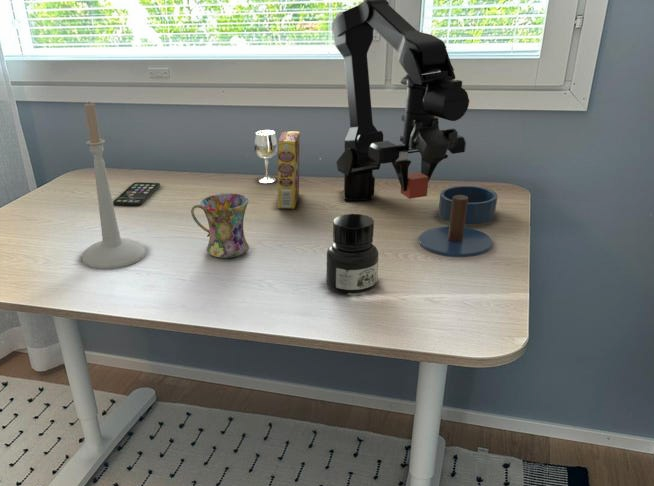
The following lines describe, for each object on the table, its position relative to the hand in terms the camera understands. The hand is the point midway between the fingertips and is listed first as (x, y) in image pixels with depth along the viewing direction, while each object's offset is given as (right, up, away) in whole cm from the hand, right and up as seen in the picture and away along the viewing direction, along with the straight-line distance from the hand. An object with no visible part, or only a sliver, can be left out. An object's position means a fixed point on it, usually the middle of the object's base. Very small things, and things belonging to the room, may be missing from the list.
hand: (413, 189), depth 141 cm
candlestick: (-62, -14, -2) cm, 63 cm away
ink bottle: (-16, -22, -19) cm, 33 cm away
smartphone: (-62, +6, +30) cm, 68 cm away
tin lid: (+6, -12, -7) cm, 15 cm away
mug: (-40, -13, -3) cm, 42 cm away
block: (0, -1, +1) cm, 1 cm away
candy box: (-24, +2, +19) cm, 31 cm away
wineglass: (-29, +11, +34) cm, 46 cm away
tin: (+12, -5, +5) cm, 14 cm away
